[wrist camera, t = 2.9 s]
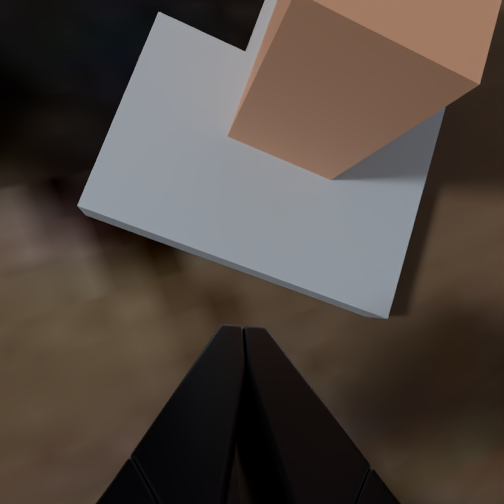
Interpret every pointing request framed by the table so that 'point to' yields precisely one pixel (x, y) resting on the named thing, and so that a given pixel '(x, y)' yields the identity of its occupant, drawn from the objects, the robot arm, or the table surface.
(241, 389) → the robot arm
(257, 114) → the block
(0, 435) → the table surface
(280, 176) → the trap board
